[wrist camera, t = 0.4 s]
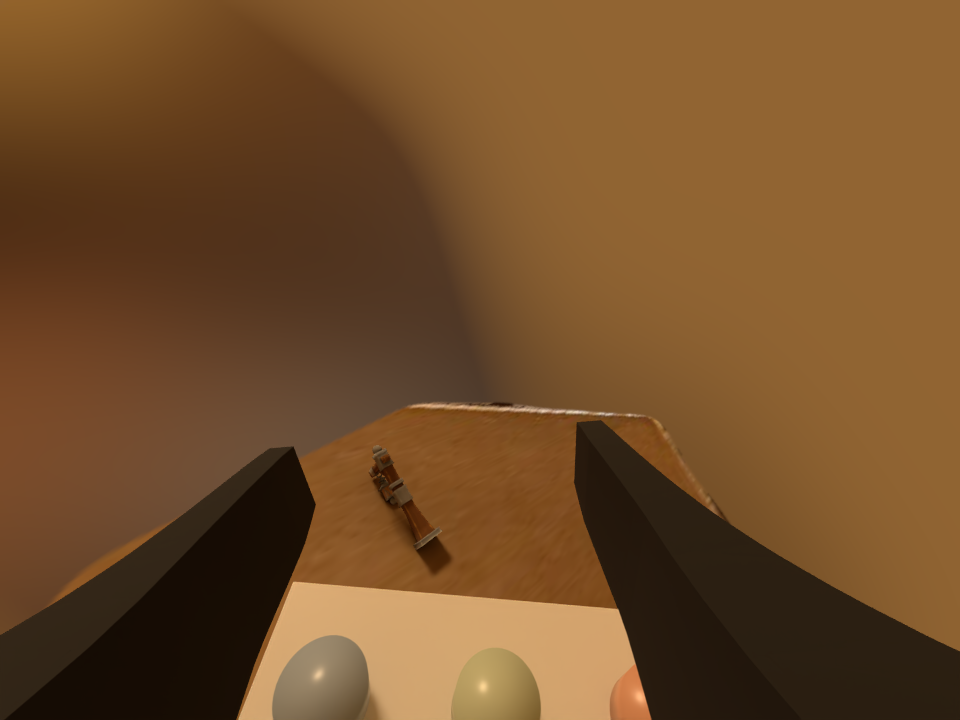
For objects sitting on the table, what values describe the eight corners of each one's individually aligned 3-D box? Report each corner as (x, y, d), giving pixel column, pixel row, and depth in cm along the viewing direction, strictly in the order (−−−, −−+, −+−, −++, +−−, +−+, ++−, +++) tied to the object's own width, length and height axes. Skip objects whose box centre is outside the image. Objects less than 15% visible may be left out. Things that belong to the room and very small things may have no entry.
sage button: (535, 773, 17) (545, 764, 16) (447, 767, 17) (450, 759, 16) (528, 664, 21) (536, 650, 19) (454, 658, 20) (457, 644, 19)
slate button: (356, 762, 17) (353, 752, 16) (263, 756, 17) (254, 746, 16) (378, 652, 20) (377, 638, 19) (301, 647, 20) (295, 632, 19)
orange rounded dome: (706, 783, 18) (727, 775, 17) (621, 778, 18) (637, 770, 16) (672, 675, 21) (689, 662, 20) (601, 669, 21) (613, 656, 20)
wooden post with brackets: (376, 456, 33) (387, 436, 30) (425, 541, 31) (443, 530, 27) (357, 467, 32) (366, 447, 28) (406, 555, 30) (422, 545, 26)
